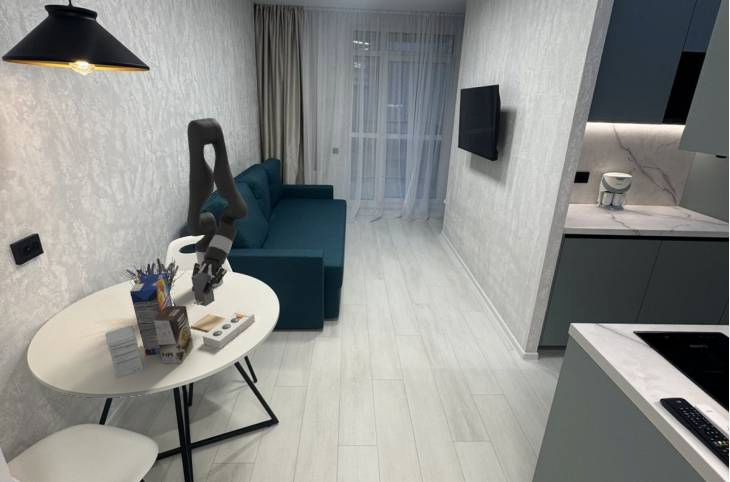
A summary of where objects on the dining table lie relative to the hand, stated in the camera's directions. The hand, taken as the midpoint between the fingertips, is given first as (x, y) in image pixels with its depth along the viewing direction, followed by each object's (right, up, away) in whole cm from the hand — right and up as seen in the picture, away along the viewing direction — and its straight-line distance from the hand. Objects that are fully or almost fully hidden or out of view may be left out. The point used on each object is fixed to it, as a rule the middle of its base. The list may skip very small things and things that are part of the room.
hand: (199, 292), depth 138 cm
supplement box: (-15, -22, -17) cm, 31 cm away
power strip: (+11, -15, +2) cm, 18 cm away
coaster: (+1, -13, +7) cm, 14 cm away
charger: (+1, -4, +3) cm, 5 cm away
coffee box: (-2, -20, -11) cm, 22 cm away
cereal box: (-11, -17, -5) cm, 21 cm away
